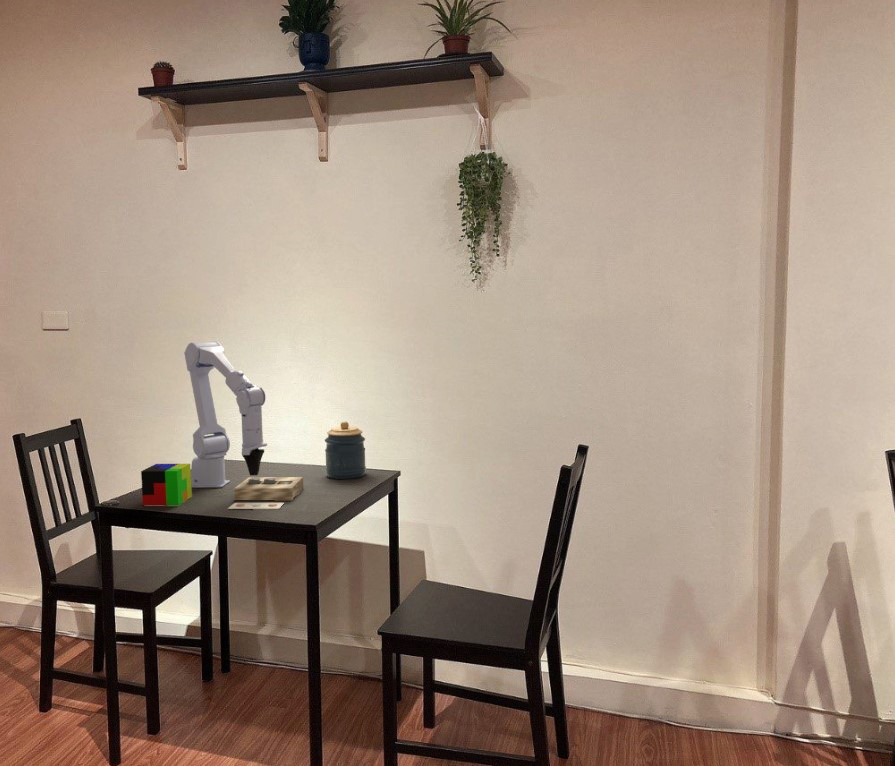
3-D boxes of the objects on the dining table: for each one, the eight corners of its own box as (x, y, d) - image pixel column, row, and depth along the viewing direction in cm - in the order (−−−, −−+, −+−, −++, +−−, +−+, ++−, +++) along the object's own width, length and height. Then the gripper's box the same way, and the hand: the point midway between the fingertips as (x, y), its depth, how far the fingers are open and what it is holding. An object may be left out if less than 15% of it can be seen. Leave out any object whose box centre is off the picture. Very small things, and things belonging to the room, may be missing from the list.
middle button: (262, 487, 220) (262, 480, 219) (265, 484, 223) (265, 478, 223) (273, 487, 220) (273, 480, 219) (276, 484, 223) (276, 478, 223)
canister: (359, 480, 238) (358, 424, 236) (320, 479, 240) (318, 424, 239) (370, 471, 251) (369, 418, 249) (333, 470, 253) (331, 418, 251)
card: (227, 509, 205) (227, 508, 205) (234, 503, 211) (234, 502, 211) (279, 509, 205) (278, 508, 205) (284, 503, 211) (284, 502, 211)
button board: (234, 500, 215) (233, 488, 214) (249, 488, 229) (248, 477, 228) (292, 500, 214) (291, 488, 214) (303, 488, 228) (303, 477, 228)
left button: (247, 487, 220) (247, 480, 220) (250, 484, 223) (250, 478, 223) (258, 487, 220) (258, 480, 220) (261, 484, 223) (261, 478, 223)
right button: (278, 491, 220) (277, 484, 219) (281, 488, 223) (280, 482, 223) (289, 491, 219) (288, 484, 219) (291, 488, 223) (291, 481, 222)
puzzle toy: (157, 497, 220) (156, 463, 219) (191, 497, 219) (190, 463, 218) (142, 506, 210) (141, 471, 209) (178, 506, 209) (176, 471, 208)
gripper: (258, 432, 212) (260, 480, 214) (272, 424, 227) (274, 469, 228) (233, 433, 213) (235, 480, 214) (249, 425, 227) (251, 469, 228)
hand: (254, 474), depth 221 cm, fingers closed
